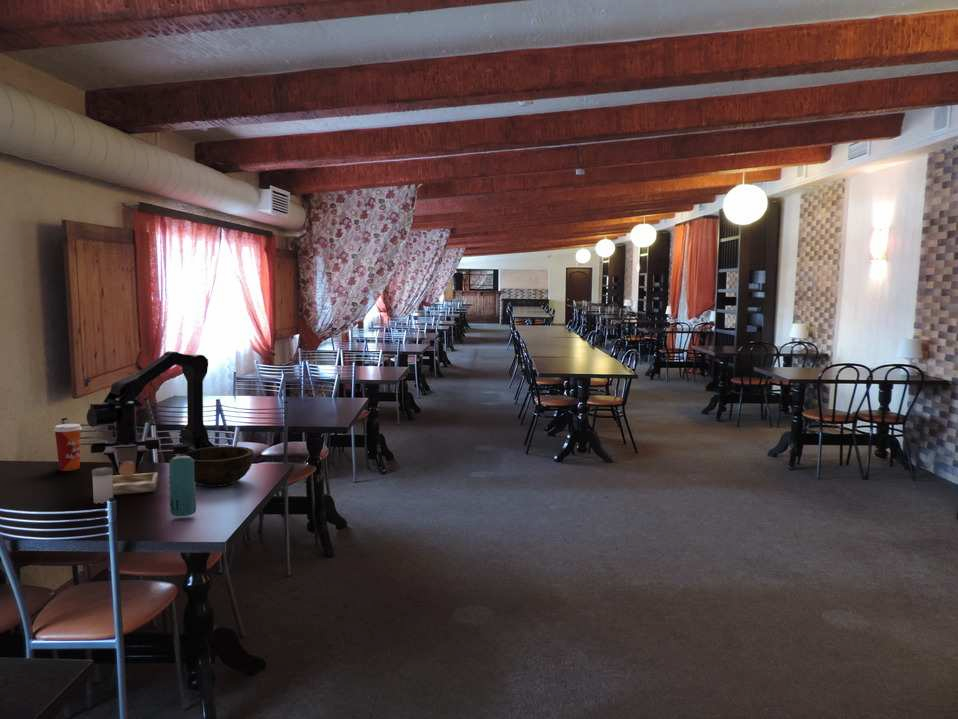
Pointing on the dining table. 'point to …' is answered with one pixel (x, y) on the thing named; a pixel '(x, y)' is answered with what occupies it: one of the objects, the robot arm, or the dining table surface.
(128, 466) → the ball
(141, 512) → the dining table surface
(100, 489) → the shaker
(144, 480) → the tray
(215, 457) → the bowl
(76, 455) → the coffee cup
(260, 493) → the dining table surface
